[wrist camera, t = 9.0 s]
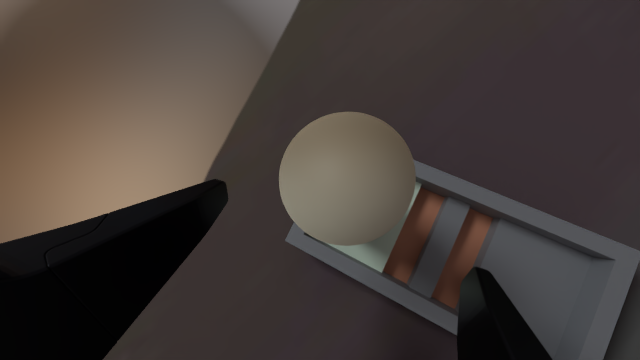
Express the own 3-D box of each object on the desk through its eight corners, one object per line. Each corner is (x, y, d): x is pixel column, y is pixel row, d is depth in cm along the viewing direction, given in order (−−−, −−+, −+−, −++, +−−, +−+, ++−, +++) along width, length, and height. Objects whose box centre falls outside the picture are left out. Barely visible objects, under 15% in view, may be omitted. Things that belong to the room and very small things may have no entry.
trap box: (547, 374, 16) (585, 406, 14) (296, 238, 21) (284, 240, 18) (595, 247, 17) (642, 252, 14) (343, 142, 22) (339, 129, 19)
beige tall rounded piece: (386, 234, 18) (421, 246, 7) (331, 234, 19) (277, 245, 7) (383, 179, 19) (410, 105, 7) (331, 181, 20) (280, 117, 8)
